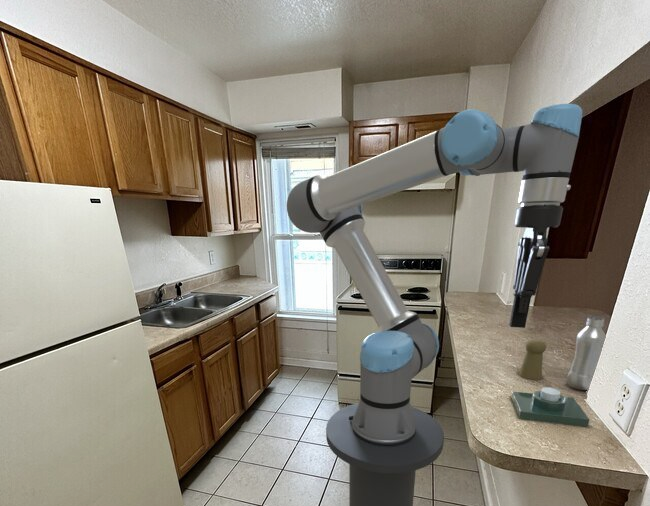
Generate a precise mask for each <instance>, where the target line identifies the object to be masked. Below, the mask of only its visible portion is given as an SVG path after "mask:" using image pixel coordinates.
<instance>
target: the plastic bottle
mask: <svg viewBox="0 0 650 506" xmlns="http://www.w3.org/2000/svg"><path fill="white" fill-rule="evenodd" d="M585 325H586V326H585V327H583V328H582V329H581V330H580V331H579V332H578V333H577V335H576V341H575V353H574V358H573V361H572V364H571V367H570V370H569V372H568V373H567V375H566V382H567V384H568V386H569V387H571V388H573V389H576V390H579V391H588V390H590V389H589V386H590V383H591V381H592V378H593V375H594V372H595V369H596V370H597V368H596V366H597V367H598V362H599V358H600V357H601V353H602V351H603V349H602V347H603V348H604V346H603V344H604V341H605V338H606V339H607V336H606V333H605V331H604V330H603V327H604V325H605V318H603V317H600V316H588V317H587V319H586V322H585ZM604 345H605V344H604Z"/></svg>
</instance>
